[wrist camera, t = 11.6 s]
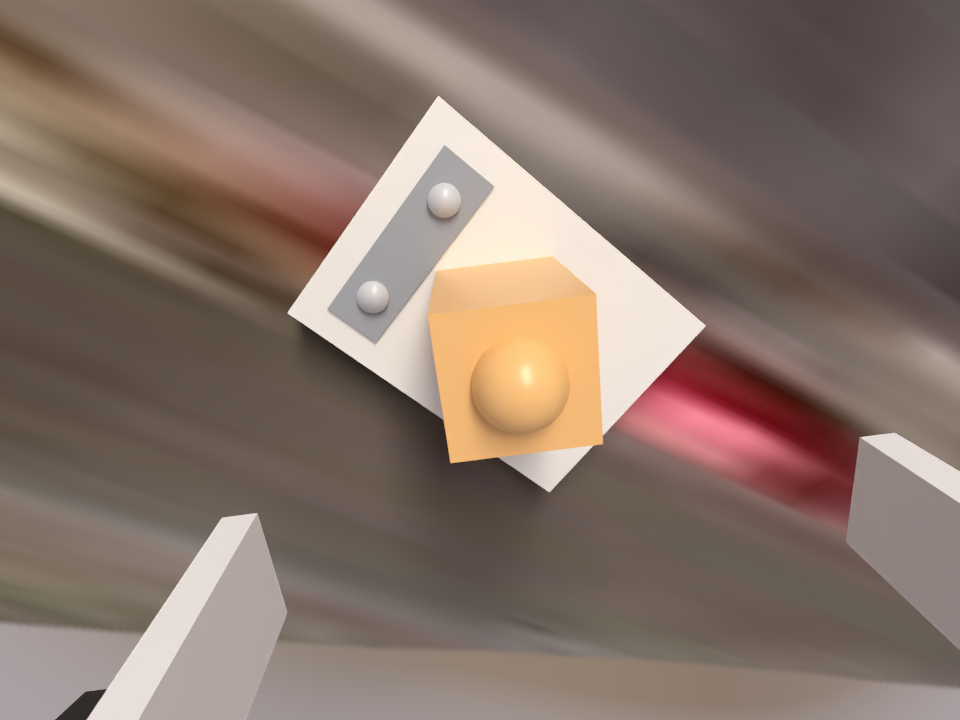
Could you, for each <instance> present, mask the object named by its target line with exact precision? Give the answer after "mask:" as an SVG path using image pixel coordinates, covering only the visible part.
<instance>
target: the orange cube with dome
mask: <svg viewBox="0 0 960 720" xmlns="http://www.w3.org/2000/svg"><path fill="white" fill-rule="evenodd" d="M428 322H429V328H430V334H431V341H432V347H433V354H434V360H435V367H436V373H437V380H438V386H439V393H440V399H441V406H442V412H443V419H444V425H445V431H446V438H447V444H448V451H449V457H450V463H456V462H464V461H472V460H480V459H488V458H496V457H504V456H512V455H520V454H528V453H536V452H544V451H552V450H560V449H568V448H576V447H584V446H592V445H600V444H603V432H602V410H601V388H600V367H599V345H598V323H597V301H596V293H595V292H593V291H592V290H591V289H590V288H589V287H588V286H587V285H585V284H584V283H583V282H582V281H581V280H580V279H579V278H577V277H576V276H575V275H574V274H573V273H572V272H571V271H569V270H568V269H567V268H566V267H565V266H564V265H563V264H561V263H560V262H559V261H558V260H557V259H556V258H555V257H554V256H549V257H541V258H533V259H525V260H517V261H509V262H501V263H493V264H484V265H476V266H468V267H460V268H452V269H444V270H436V274H435V279H434V284H433V289H432V295H431V300H430V305H429V310H428Z"/></svg>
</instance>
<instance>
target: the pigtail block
mask: <svg viewBox="0 0 960 720" xmlns="http://www.w3.org/2000/svg"><path fill="white" fill-rule="evenodd" d="M549 256H554V257H555V258H556V259H557V260H558V261H559V262H560V263H561V264H563V265H564V266H565V267H566V268H567V269H568V270H569V271H571V272H572V273H573V274H574V275H575V276H576V277H577V278H579V279H580V280H581V281H582V282H583V283H584V284H585V285H587V286H588V287H589V288H590V289H591V290H592V291H593V292H595V293H596V301H597V323H598V345H599V367H600V388H601V410H602V432H603V435H604V434H605V433H606V432H607V431H608V430H609V428H610V427H611V426H612V425H613V424H614V423H615V422H616V421H617V420H618V419H619V418H620V417H621V416H622V415H623V414H624V412H625V411H626V410H627V409H628V408H629V407H630V406H631V405H632V404H633V403H634V402H635V401H636V400H637V399H638V398H639V397H640V395H641V394H642V393H643V392H644V391H645V390H646V389H647V388H648V387H649V386H650V385H651V384H652V383H653V382H654V381H655V379H656V378H657V377H658V376H659V375H660V374H661V373H662V372H663V371H664V370H665V369H666V368H667V367H668V366H669V365H670V363H671V362H672V361H673V360H674V359H675V358H676V357H677V356H678V355H679V354H680V353H681V352H682V351H683V350H684V349H685V348H686V346H687V345H688V344H689V343H690V342H691V341H692V340H693V339H694V338H695V337H696V336H697V335H698V334H699V333H700V332H701V330H702V329H703V328H704V327H705V325H704V324H703V323H702V322H701V321H700V320H698V319H697V318H696V317H695V316H694V315H693V314H691V313H690V312H689V311H688V310H687V309H686V308H685V307H683V306H682V305H681V304H680V303H679V302H678V301H676V300H675V299H674V298H673V297H672V296H671V295H669V294H668V293H667V292H666V291H665V290H664V289H662V288H661V287H660V286H659V285H658V284H657V283H655V282H654V281H653V280H652V279H651V278H650V277H648V276H647V275H646V274H645V273H644V272H643V271H641V270H640V269H639V268H638V267H637V266H636V265H634V264H633V263H632V262H631V261H630V260H629V259H627V258H626V257H625V256H624V255H623V254H622V253H621V252H619V251H618V250H617V249H616V248H615V247H614V246H612V245H611V244H610V243H609V242H608V241H607V240H605V239H604V238H603V237H602V236H601V235H600V234H598V233H597V232H596V231H595V230H594V229H593V228H591V227H590V226H589V225H588V224H587V223H586V222H584V221H583V220H582V219H581V218H580V217H579V216H577V215H576V214H575V213H574V212H573V211H572V210H570V209H569V208H568V207H567V206H566V205H565V204H564V203H562V202H561V201H560V200H559V199H558V198H557V197H555V196H554V195H553V194H552V193H551V192H550V191H548V190H547V189H546V188H545V187H544V186H543V185H541V184H540V183H539V182H538V181H537V180H536V179H534V178H533V177H532V176H531V175H530V174H529V173H527V172H526V171H525V170H524V169H523V168H522V167H520V166H519V165H518V164H517V163H516V162H515V161H513V160H512V159H511V158H510V157H509V156H508V155H506V154H505V153H504V152H503V151H502V150H501V149H500V148H498V147H497V146H496V145H495V144H494V143H493V142H491V141H490V140H489V139H488V138H487V137H486V136H484V135H483V134H482V133H481V132H480V131H479V130H477V129H476V128H475V127H474V126H473V125H472V124H470V123H469V122H468V121H467V120H466V119H465V118H463V117H462V116H461V115H460V114H459V113H458V112H456V111H455V110H454V109H453V108H452V107H451V106H449V105H448V104H447V103H446V102H445V101H444V100H442V99H441V98H440V97H439V96H438V97H437V98H436V100H435V101H434V103H433V104H432V106H431V107H430V109H429V110H428V111H427V113H426V114H425V116H424V117H423V119H422V120H421V121H420V123H419V124H418V126H417V127H416V129H415V130H414V132H413V133H412V134H411V136H410V137H409V139H408V140H407V142H406V143H405V144H404V146H403V147H402V149H401V150H400V152H399V153H398V155H397V156H396V157H395V159H394V160H393V162H392V163H391V165H390V166H389V167H388V169H387V170H386V172H385V173H384V175H383V176H382V178H381V179H380V180H379V182H378V183H377V185H376V186H375V188H374V189H373V190H372V192H371V193H370V195H369V196H368V198H367V199H366V201H365V202H364V203H363V205H362V206H361V208H360V209H359V211H358V212H357V213H356V215H355V216H354V218H353V219H352V221H351V222H350V224H349V225H348V226H347V228H346V229H345V231H344V232H343V234H342V235H341V236H340V238H339V239H338V241H337V242H336V244H335V245H334V247H333V248H332V249H331V251H330V252H329V254H328V255H327V257H326V258H325V260H324V261H323V262H322V264H321V265H320V267H319V268H318V270H317V271H316V272H315V274H314V275H313V277H312V278H311V280H310V281H309V283H308V284H307V285H306V287H305V288H304V290H303V291H302V293H301V294H300V295H299V297H298V298H297V300H296V301H295V303H294V304H293V306H292V307H291V308H290V310H289V311H288V314H289V315H291V316H292V317H294V318H295V319H297V320H298V321H300V322H301V323H303V324H304V325H306V326H307V327H308V328H310V329H311V330H313V331H314V332H316V333H317V334H319V335H320V336H322V337H323V338H325V339H326V340H327V341H329V342H330V343H332V344H333V345H335V346H336V347H338V348H339V349H341V350H342V351H344V352H345V353H346V354H348V355H349V356H351V357H352V358H354V359H355V360H357V361H358V362H360V363H361V364H363V365H364V366H365V367H367V368H368V369H370V370H371V371H373V372H374V373H376V374H377V375H379V376H380V377H382V378H383V379H384V380H386V381H387V382H389V383H390V384H392V385H393V386H395V387H396V388H398V389H399V390H401V391H402V392H403V393H405V394H406V395H408V396H409V397H411V398H412V399H414V400H415V401H417V402H418V403H420V404H421V405H422V406H424V407H425V408H427V409H428V410H430V411H431V412H433V413H434V414H436V415H437V416H439V417H440V418H441V419H443V412H442V406H441V399H440V393H439V386H438V380H437V373H436V367H435V360H434V354H433V347H432V341H431V334H430V328H429V322H428V310H429V305H430V300H431V295H432V289H433V284H434V279H435V274H436V270H444V269H452V268H460V267H468V266H476V265H484V264H493V263H501V262H509V261H517V260H525V259H533V258H541V257H549ZM443 420H444V419H443ZM592 447H593V445H592V446H584V447H576V448H568V449H560V450H552V451H544V452H536V453H528V454H520V455H512V456H504V457H498V458H500V459H501V460H503V461H504V462H506V463H507V464H509V465H510V466H512V467H513V468H515V469H516V470H517V471H519V472H520V473H522V474H523V475H525V476H526V477H528V478H529V479H531V480H532V481H534V482H535V483H536V484H538V485H539V486H541V487H542V488H544V489H545V490H547V491H548V492H550V491H551V490H552V489H553V488H554V487H555V486H556V485H557V484H558V483H559V482H560V481H561V480H562V479H563V477H564V476H565V475H566V474H567V473H568V472H569V471H570V470H571V469H572V468H573V467H574V466H575V465H576V464H577V463H578V461H579V460H580V459H581V458H582V457H583V456H584V455H585V454H586V453H587V452H588V451H589V450H590V449H591V448H592Z"/></svg>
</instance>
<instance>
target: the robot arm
mask: <svg viewBox="0 0 960 720" xmlns="http://www.w3.org/2000/svg"><path fill="white" fill-rule="evenodd" d="M846 543H847V544H848V545H849V546H851V547H852V548H853V549H854V550H855V551H856V552H857V553H858V554H859V555H860V556H861V557H862V558H863V559H864V560H865V561H866V562H867V563H868V564H869V565H870V566H872V567H873V568H874V569H875V570H876V571H877V572H878V573H879V574H880V575H881V576H882V577H883V578H884V579H885V580H886V581H887V582H888V583H889V584H890V585H892V586H893V587H894V588H895V589H896V590H897V591H898V592H899V593H900V594H901V595H902V596H903V597H904V598H905V599H906V600H907V601H908V602H909V603H910V604H911V605H913V606H914V607H915V608H916V609H917V610H918V611H919V612H920V613H921V614H922V615H923V616H924V617H925V618H926V619H927V620H928V621H929V622H930V623H931V624H933V625H934V626H935V627H936V628H937V629H938V630H939V631H940V632H941V633H942V634H943V635H944V636H945V637H946V638H947V639H948V640H949V641H950V642H951V643H953V644H954V645H955V646H956V647H957V648H958V649H959V650H960V471H958V470H956V469H955V468H953V467H951V466H950V465H948V464H946V463H945V462H943V461H941V460H940V459H938V458H936V457H935V456H933V455H931V454H930V453H928V452H926V451H925V450H923V449H921V448H919V447H918V446H916V445H914V444H913V443H911V442H909V441H908V440H906V439H904V438H903V437H901V436H899V435H898V434H896V433H890V434H882V435H874V436H866V437H860V440H859V448H858V455H857V463H856V470H855V478H854V485H853V493H852V500H851V508H850V515H849V523H848V530H847V538H846ZM286 615H287V609H286V606H285V603H284V600H283V596H282V593H281V590H280V586H279V583H278V580H277V576H276V573H275V570H274V566H273V563H272V560H271V557H270V553H269V550H268V547H267V543H266V540H265V537H264V533H263V530H262V527H261V524H260V520H259V517H258V514H257V513H255V514H247V515H239V516H231V517H223V518H222V519H221V520H220V522H219V523H218V525H217V526H216V528H215V529H214V531H213V532H212V533H211V535H210V536H209V538H208V539H207V541H206V542H205V544H204V545H203V547H202V548H201V550H200V551H199V553H198V554H197V556H196V557H195V559H194V560H193V562H192V563H191V565H190V566H189V568H188V569H187V571H186V572H185V574H184V575H183V577H182V578H181V580H180V581H179V583H178V584H177V586H176V587H175V589H174V590H173V592H172V593H171V595H170V596H169V598H168V599H167V601H166V602H165V604H164V605H163V607H162V608H161V610H160V611H159V613H158V614H157V616H156V617H155V618H154V620H153V621H152V623H151V624H150V626H149V627H148V629H147V630H146V632H145V633H144V635H143V636H142V638H141V639H140V641H139V642H138V644H137V645H136V647H135V648H134V650H133V651H132V653H131V654H130V656H129V657H128V659H127V660H126V662H125V663H124V665H123V666H122V668H121V669H120V671H119V672H118V674H117V675H116V677H115V678H114V680H113V681H112V683H111V684H110V686H109V687H108V689H105V690H97V691H89V692H85V693H84V694H83V695H82V696H81V697H79V698H78V699H77V700H76V701H75V702H74V703H73V704H72V705H71V706H70V707H69V708H68V709H66V710H65V711H64V712H63V713H62V714H61V715H60V716H59V717H58V718H57V719H56V720H247V718H248V716H249V713H250V710H251V707H252V705H253V702H254V700H255V697H256V695H257V692H258V688H259V686H260V684H261V681H262V679H263V676H264V673H265V671H266V668H267V666H268V663H269V660H270V657H271V655H272V652H273V650H274V647H275V644H276V642H277V639H278V636H279V634H280V631H281V629H282V626H283V623H284V621H285V618H286Z"/></svg>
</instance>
